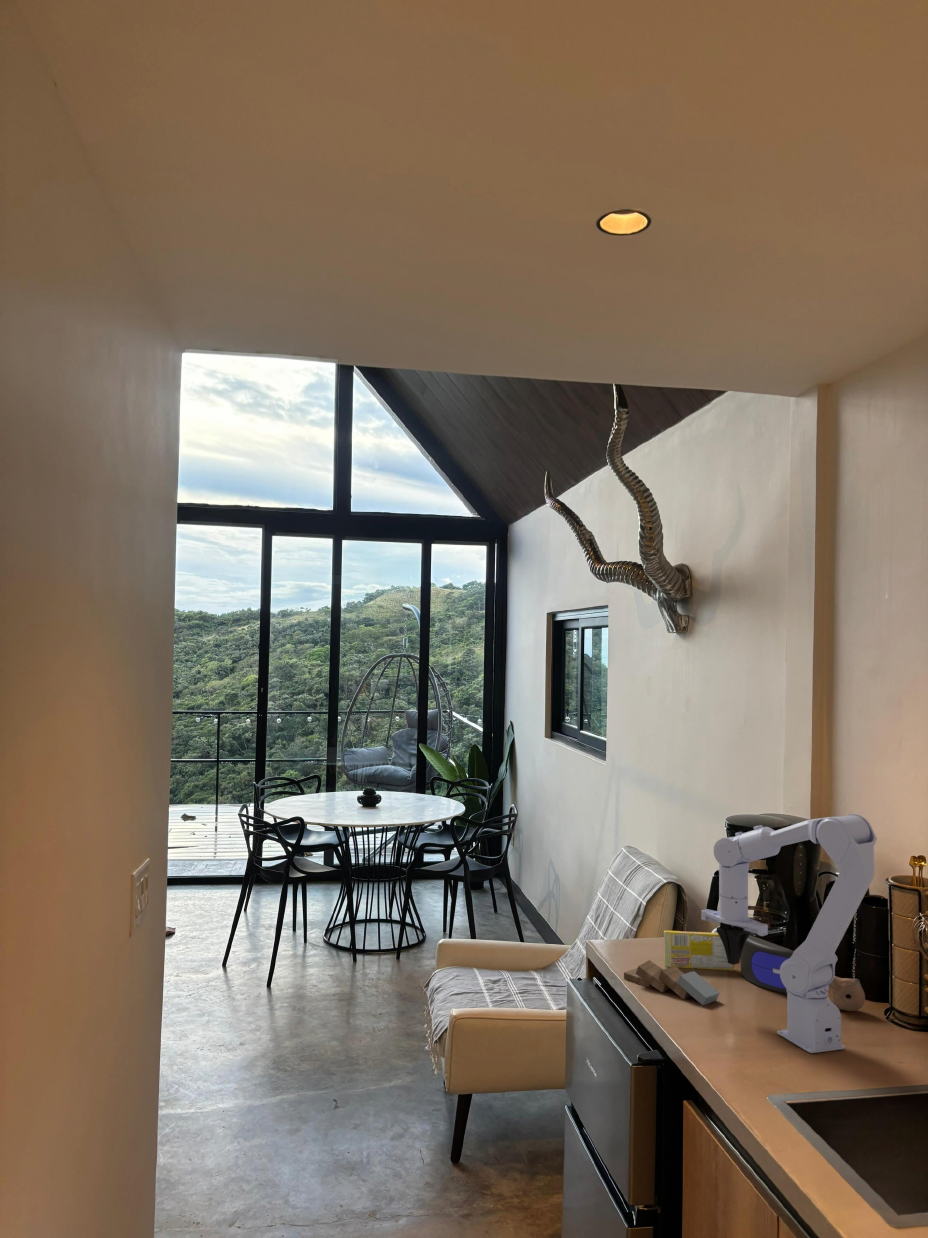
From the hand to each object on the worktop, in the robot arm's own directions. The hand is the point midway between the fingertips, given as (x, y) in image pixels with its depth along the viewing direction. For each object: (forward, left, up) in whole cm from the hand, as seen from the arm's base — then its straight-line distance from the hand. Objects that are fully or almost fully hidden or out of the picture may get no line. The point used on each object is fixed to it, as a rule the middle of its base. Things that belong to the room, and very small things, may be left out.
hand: (733, 963), depth 175 cm
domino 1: (+18, +7, -10) cm, 22 cm away
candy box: (+27, -9, -10) cm, 30 cm away
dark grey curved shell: (+13, -18, -10) cm, 24 cm away
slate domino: (+5, +2, -9) cm, 11 cm away
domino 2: (+15, +6, -9) cm, 18 cm away
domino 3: (+10, +4, -9) cm, 14 cm away
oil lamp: (-4, -23, -10) cm, 26 cm away
